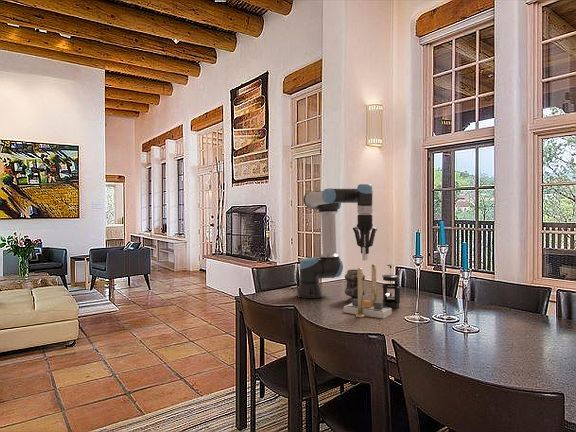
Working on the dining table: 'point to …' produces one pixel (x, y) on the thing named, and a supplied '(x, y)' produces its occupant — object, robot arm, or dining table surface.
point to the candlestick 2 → (373, 283)
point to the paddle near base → (355, 302)
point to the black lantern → (390, 302)
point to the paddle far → (378, 305)
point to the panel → (369, 311)
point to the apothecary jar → (353, 284)
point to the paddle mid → (367, 303)
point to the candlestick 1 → (360, 294)
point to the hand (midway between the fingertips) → (364, 260)
